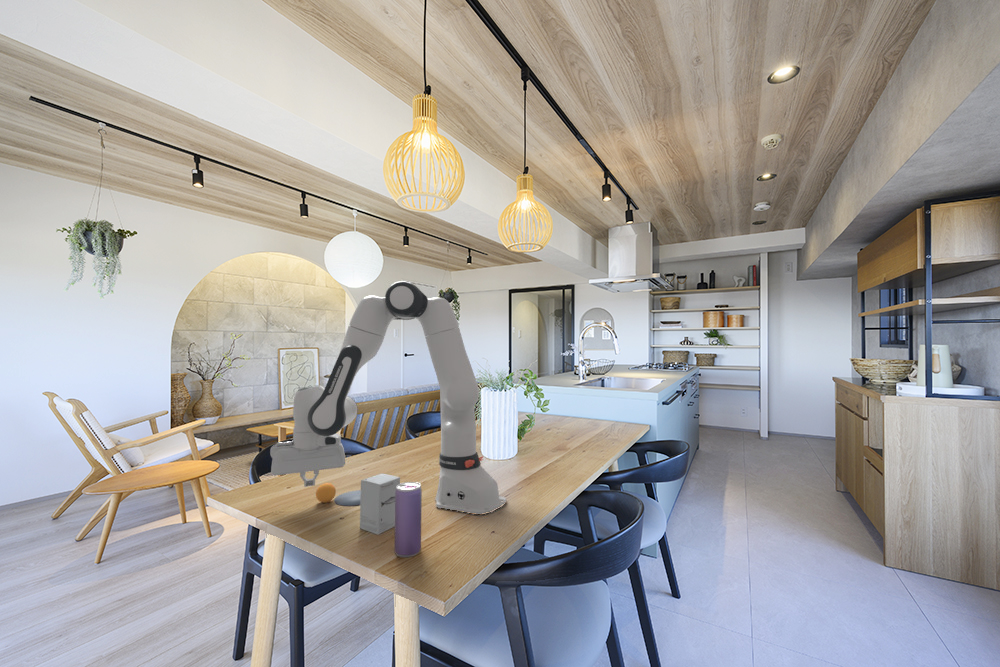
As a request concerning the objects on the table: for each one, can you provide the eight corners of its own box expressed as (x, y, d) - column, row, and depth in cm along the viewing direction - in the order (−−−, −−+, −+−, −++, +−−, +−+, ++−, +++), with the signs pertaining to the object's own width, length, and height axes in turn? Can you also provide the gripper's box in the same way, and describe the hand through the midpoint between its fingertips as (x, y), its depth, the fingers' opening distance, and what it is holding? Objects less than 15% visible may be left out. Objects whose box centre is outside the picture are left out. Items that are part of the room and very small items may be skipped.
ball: (313, 506, 121) (333, 506, 123) (315, 494, 118) (335, 494, 120) (316, 491, 125) (335, 491, 127) (318, 478, 123) (337, 479, 125)
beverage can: (414, 559, 89) (415, 491, 90) (389, 556, 90) (390, 489, 91) (425, 546, 95) (425, 482, 95) (401, 544, 96) (402, 480, 97)
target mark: (386, 496, 128) (386, 495, 128) (351, 509, 117) (351, 508, 117) (361, 488, 135) (361, 487, 135) (325, 499, 124) (325, 499, 124)
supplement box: (378, 535, 101) (379, 484, 101) (359, 528, 104) (359, 479, 105) (400, 524, 107) (400, 476, 107) (381, 518, 111) (381, 472, 111)
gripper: (268, 445, 115) (268, 494, 114) (345, 438, 123) (345, 483, 122) (271, 441, 121) (272, 487, 120) (344, 434, 128) (345, 477, 128)
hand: (309, 485), depth 121 cm, fingers closed
